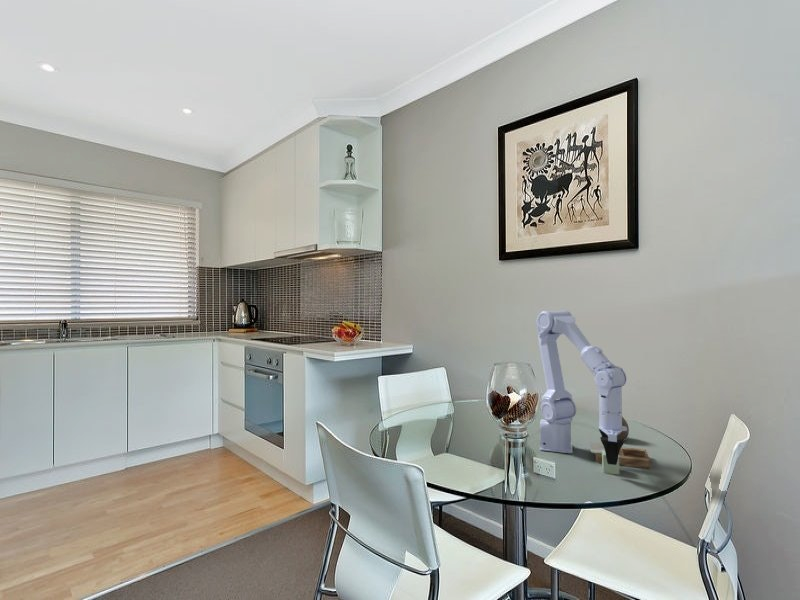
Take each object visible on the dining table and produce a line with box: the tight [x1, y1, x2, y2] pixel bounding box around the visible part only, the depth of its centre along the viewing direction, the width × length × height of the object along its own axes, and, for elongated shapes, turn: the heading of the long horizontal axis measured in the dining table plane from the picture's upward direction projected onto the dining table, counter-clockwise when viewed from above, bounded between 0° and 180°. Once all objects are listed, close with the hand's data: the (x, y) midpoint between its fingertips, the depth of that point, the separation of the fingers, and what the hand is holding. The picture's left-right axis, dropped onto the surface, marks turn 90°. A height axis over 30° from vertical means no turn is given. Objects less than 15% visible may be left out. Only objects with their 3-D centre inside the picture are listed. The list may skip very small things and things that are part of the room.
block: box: [601, 450, 620, 475], centre depth 122 cm, size 4×4×5 cm
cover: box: [589, 441, 605, 454], centre depth 132 cm, size 6×8×2 cm
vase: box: [617, 416, 630, 442], centre depth 147 cm, size 7×7×9 cm
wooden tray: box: [594, 446, 652, 470], centre depth 130 cm, size 14×9×2 cm, turn 68°
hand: (610, 458), depth 122 cm, fingers open, 7 cm apart
